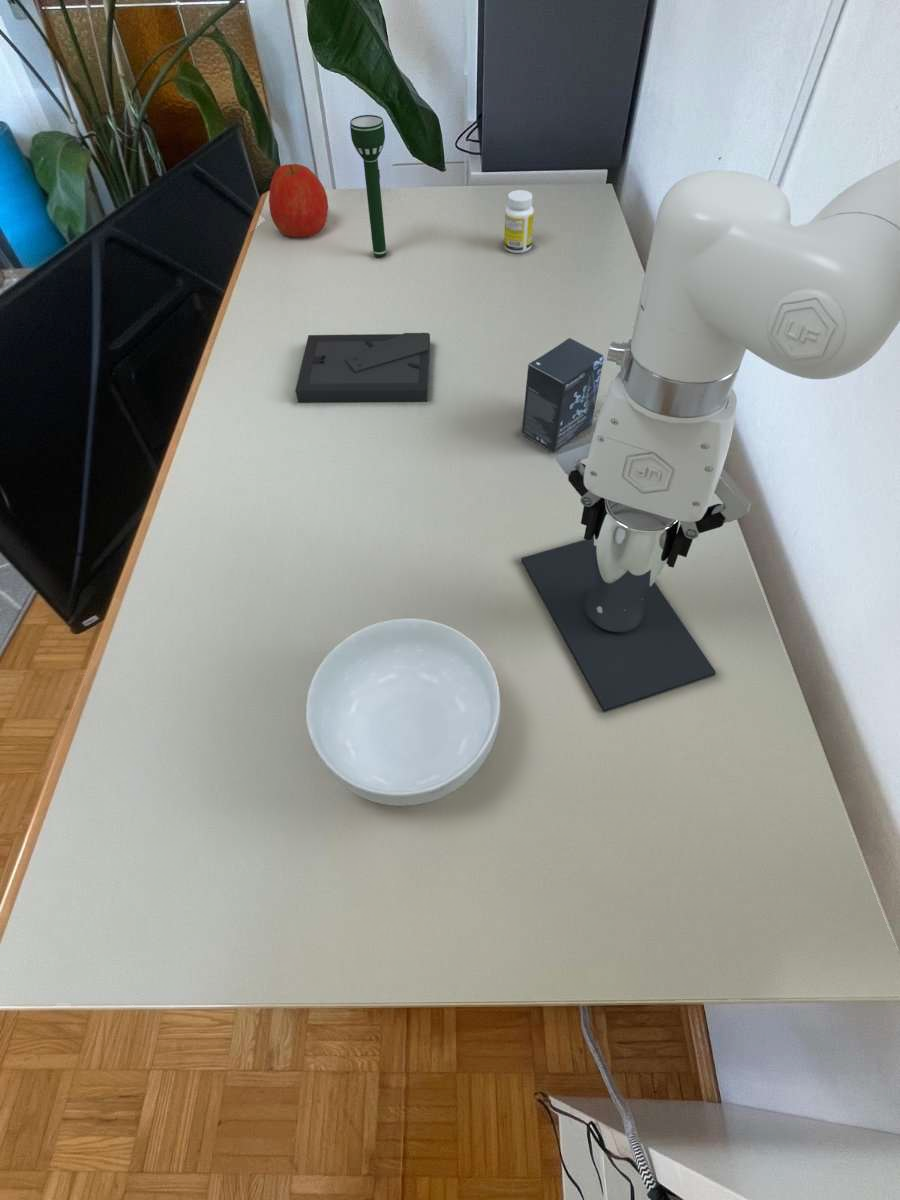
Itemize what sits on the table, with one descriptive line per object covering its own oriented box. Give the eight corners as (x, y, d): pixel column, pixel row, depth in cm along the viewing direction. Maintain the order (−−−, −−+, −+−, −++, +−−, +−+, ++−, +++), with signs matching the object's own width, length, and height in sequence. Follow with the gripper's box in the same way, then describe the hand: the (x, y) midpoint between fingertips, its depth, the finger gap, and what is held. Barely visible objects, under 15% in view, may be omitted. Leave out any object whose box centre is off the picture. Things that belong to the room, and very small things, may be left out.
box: (554, 455, 88) (563, 383, 79) (520, 434, 90) (526, 362, 82) (593, 426, 91) (606, 354, 82) (559, 407, 93) (569, 335, 85)
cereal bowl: (322, 664, 69) (309, 623, 64) (487, 652, 70) (489, 610, 64) (314, 833, 59) (298, 802, 54) (508, 817, 60) (513, 785, 54)
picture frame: (430, 345, 103) (310, 346, 103) (429, 331, 101) (307, 332, 101) (427, 401, 95) (297, 402, 95) (426, 387, 93) (294, 388, 93)
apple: (332, 215, 129) (323, 151, 121) (329, 241, 123) (319, 177, 115) (277, 217, 129) (264, 154, 121) (271, 244, 123) (257, 179, 114)
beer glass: (566, 610, 71) (585, 506, 60) (606, 571, 74) (631, 464, 63) (623, 648, 68) (655, 546, 57) (662, 606, 72) (700, 501, 60)
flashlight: (401, 254, 120) (390, 119, 104) (380, 265, 117) (366, 130, 101) (379, 245, 122) (366, 112, 106) (359, 256, 119) (342, 122, 103)
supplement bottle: (523, 238, 122) (526, 186, 115) (536, 250, 119) (540, 197, 113) (499, 244, 121) (500, 192, 114) (511, 256, 118) (513, 203, 112)
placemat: (714, 675, 68) (716, 672, 67) (603, 712, 66) (604, 709, 65) (618, 533, 79) (619, 529, 79) (521, 561, 77) (521, 557, 77)
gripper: (545, 373, 50) (528, 541, 64) (797, 438, 45) (719, 604, 59) (580, 320, 54) (557, 489, 68) (815, 375, 49) (737, 544, 63)
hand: (632, 541), depth 63 cm, fingers closed on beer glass, 7 cm apart
